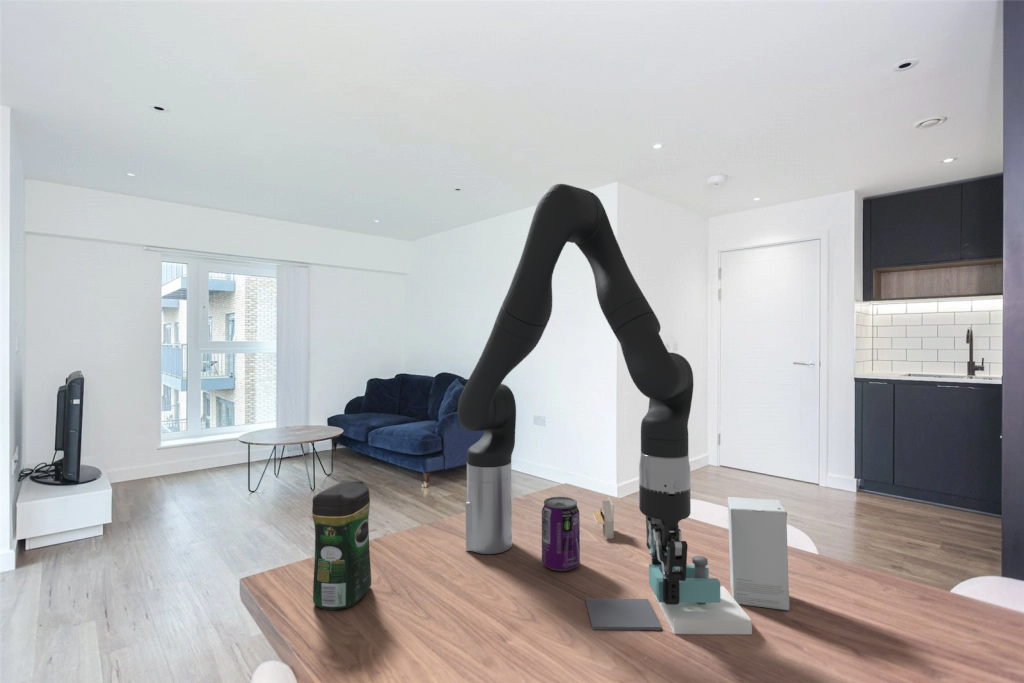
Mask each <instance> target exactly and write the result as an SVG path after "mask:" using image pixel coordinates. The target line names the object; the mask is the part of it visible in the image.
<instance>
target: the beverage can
mask: <svg viewBox="0 0 1024 683" xmlns="http://www.w3.org/2000/svg"><path fill="white" fill-rule="evenodd" d="M543 504H544V505H543V507H542V508H541V563H542V564H543V565H544V566H545V567H547V568H549V569H551V570H553V571H557V572H567V571H571V570H573V569H575V568H577V567H578V566H579V565H580V564H581V558H580V557H581V556H580V555H581V545H580V543H581V542H580V540H581V538H580V537H581V536H580V530H581V529H580V526H581V525H580V519H581V518H580V510H579V507H578V502H577V500H576V499H574V498H572V497H568V496H550V497H547V498H545V499H544V501H543Z"/></svg>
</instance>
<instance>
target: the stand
mask: <svg viewBox="0 0 1024 683" xmlns="http://www.w3.org/2000/svg"><path fill="white" fill-rule="evenodd" d="M691 558H692V560H691V561H692V563H693V565H694V568H695V578H706V566H708V565H709V564H708V563H709V561H708V560H709V559H708V558H707V557H705V556H703V555H693V556H692V557H691ZM655 600H656V602H657V604H658V606H659V608H660V609H661V611H662V614H663V616H664V618H665V619H666V621H667V623H668V625H669V626H670V629H671V630H672V632H673V635H752V634H753V628H752V625H753V623H752V622H753V621H752V619H751V618H750V616H749V615H748V614H747V613H746V611H745V610H744V609H743V608H742V607H741V605H740V604H738V603H737V602H736V601H735V600H734V598H733V596H732V594H730V592H729V591H728V590H727V589H726V588H725V586H724V585H722V586H721V585H720V603H698V602H679V604H677V605H667V604H665V602H659V601H658V599H657V597H656V596H655Z"/></svg>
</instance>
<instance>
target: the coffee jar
mask: <svg viewBox="0 0 1024 683" xmlns="http://www.w3.org/2000/svg"><path fill="white" fill-rule="evenodd" d="M370 506H371V498H370V489H369V487H368V485H367V484H366V483H365V482H364V481H361V480H345V479H344V480H341V481H340V482H338V483H335V484H334V485H332V486H329V487H328V488H326V489H324V490H322V491H321V492H318V493H317V494H316V495H314V496H313V497H312V506H311V507H312V510H311V511H312V512H311V515H312V520H313V525H314V533H315V534H314V567H313V568H314V569H313V585H312V586H313V587H312V602H313V605H315V606H317V607H319V608H321V609H324V610H328V611H329V610H331V611H334V610H335V611H337V610H340V609H341V610H342V609H347V608H352V606H354V605H356V604H357V603H358V602H359V601H361V599H362V598H363V597H364V596H365V595H366V594H367V592H368V591H369V589H370V588H371V586H372V567H371V554H370V553H371V552H370V531H369V529H370V528H369V526H370V525H369V521H370V520H369V519H370V518H369V515H370Z"/></svg>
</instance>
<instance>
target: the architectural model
mask: <svg viewBox="0 0 1024 683" xmlns="http://www.w3.org/2000/svg"><path fill="white" fill-rule="evenodd" d="M601 503H602V507H600V511H593V512H592V515H593V517H594V519H595V521H596V522H595V523H596V524H597V525H602V530H603V536H604V535H605V536H604V539H605V538H607V539H606V540H612V539H611V538H614V539H615V536H614V535H615V533H614V529H615V528H614V527H615V526H614V522H615V521H614V518H615V517H614V516H615V515H614V510H615V509H614V504H613V502H612V500H611V498H610V497H607V499H606V500H605V499H602V500H601ZM608 538H610V539H608Z"/></svg>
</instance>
